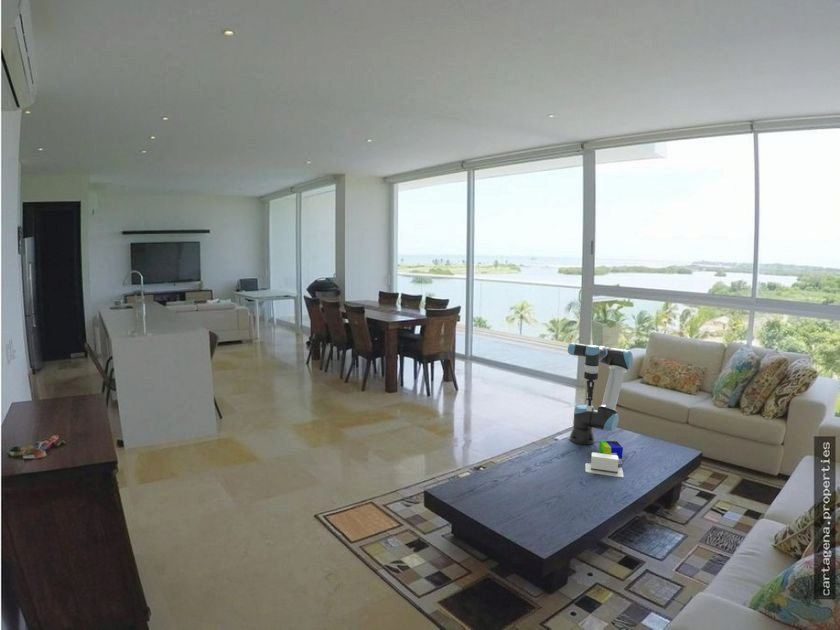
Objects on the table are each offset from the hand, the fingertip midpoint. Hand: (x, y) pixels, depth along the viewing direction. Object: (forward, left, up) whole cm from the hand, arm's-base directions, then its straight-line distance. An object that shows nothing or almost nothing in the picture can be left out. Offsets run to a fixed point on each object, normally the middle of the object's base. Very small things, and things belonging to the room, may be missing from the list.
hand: (588, 407), depth 305 cm
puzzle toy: (-3, +14, -32) cm, 35 cm away
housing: (+13, +10, -30) cm, 34 cm away
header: (+13, +10, -32) cm, 36 cm away
